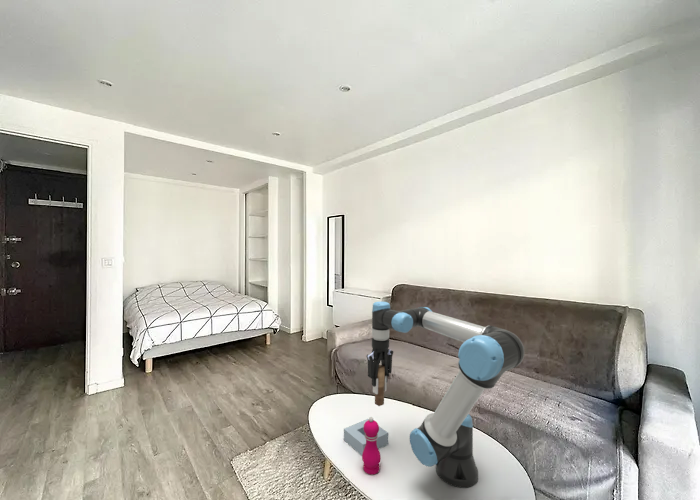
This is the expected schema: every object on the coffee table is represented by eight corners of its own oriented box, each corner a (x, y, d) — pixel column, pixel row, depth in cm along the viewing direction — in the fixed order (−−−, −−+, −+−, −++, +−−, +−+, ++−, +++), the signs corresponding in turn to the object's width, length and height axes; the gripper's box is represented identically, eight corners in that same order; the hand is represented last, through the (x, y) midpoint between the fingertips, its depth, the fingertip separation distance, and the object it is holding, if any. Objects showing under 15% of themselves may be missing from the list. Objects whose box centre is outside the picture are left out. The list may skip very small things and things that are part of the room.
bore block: (388, 444, 133) (388, 432, 133) (363, 456, 125) (363, 444, 125) (368, 429, 145) (368, 418, 145) (343, 440, 136) (343, 428, 136)
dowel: (385, 405, 132) (386, 367, 131) (378, 407, 130) (379, 369, 129) (379, 401, 135) (380, 364, 135) (372, 403, 133) (373, 366, 132)
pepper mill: (365, 477, 114) (365, 423, 114) (359, 464, 121) (359, 413, 121) (383, 473, 116) (383, 420, 116) (376, 461, 123) (376, 411, 123)
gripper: (389, 332, 140) (388, 383, 140) (359, 338, 130) (358, 393, 131) (401, 337, 133) (399, 390, 134) (370, 343, 124) (369, 400, 124)
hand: (379, 391), depth 132 cm, fingers closed on dowel, 4 cm apart
